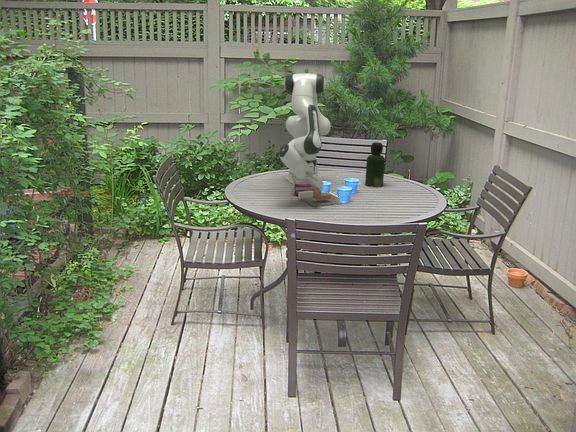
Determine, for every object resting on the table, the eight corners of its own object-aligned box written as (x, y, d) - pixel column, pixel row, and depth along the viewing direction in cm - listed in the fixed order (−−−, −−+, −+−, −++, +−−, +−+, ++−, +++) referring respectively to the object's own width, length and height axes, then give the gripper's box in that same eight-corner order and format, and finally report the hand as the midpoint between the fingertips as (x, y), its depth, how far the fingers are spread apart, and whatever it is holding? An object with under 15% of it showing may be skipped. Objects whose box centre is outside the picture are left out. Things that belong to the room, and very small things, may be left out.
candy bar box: (311, 193, 349) (312, 163, 344) (314, 195, 344) (315, 165, 340) (291, 193, 346) (292, 164, 341) (294, 196, 341) (295, 166, 337)
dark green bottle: (386, 186, 371) (389, 144, 364) (370, 187, 367) (373, 144, 360) (377, 183, 380) (380, 141, 373) (361, 183, 376) (364, 141, 370)
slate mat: (299, 199, 336) (299, 198, 335) (323, 197, 342) (323, 196, 342) (313, 206, 322) (313, 205, 322) (338, 204, 328) (338, 203, 328)
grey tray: (298, 198, 337) (298, 191, 336) (324, 196, 344) (325, 189, 343) (313, 206, 322) (314, 199, 321) (341, 204, 329) (341, 197, 328)
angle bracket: (313, 197, 330) (313, 180, 328) (326, 196, 334) (327, 179, 331) (317, 199, 326) (318, 182, 323) (331, 198, 329) (332, 181, 327)
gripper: (316, 170, 312) (332, 188, 319) (297, 162, 329) (313, 179, 336) (307, 179, 311) (324, 197, 318) (289, 171, 329) (305, 188, 336)
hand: (318, 188), depth 327 cm, fingers closed on angle bracket, 5 cm apart
